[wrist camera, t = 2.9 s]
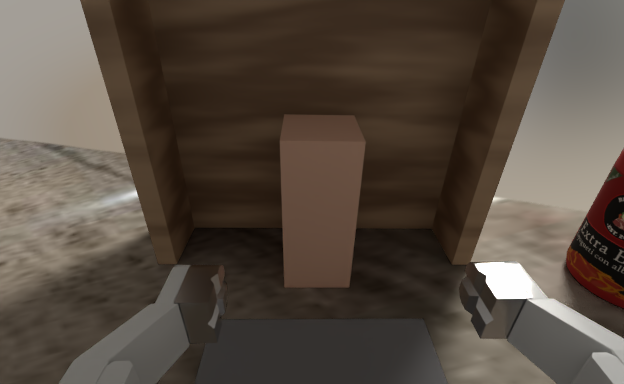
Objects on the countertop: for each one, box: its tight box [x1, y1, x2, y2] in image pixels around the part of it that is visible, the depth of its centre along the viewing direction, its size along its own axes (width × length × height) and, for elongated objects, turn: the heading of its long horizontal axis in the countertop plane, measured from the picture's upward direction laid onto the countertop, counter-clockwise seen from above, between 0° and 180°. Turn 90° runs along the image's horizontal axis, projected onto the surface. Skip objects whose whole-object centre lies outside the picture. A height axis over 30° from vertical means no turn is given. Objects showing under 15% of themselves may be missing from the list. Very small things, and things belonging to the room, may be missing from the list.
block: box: [280, 114, 366, 288], centre depth 24 cm, size 5×5×12 cm
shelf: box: [80, 0, 565, 265], centre depth 18 cm, size 13×26×38 cm, turn 91°
